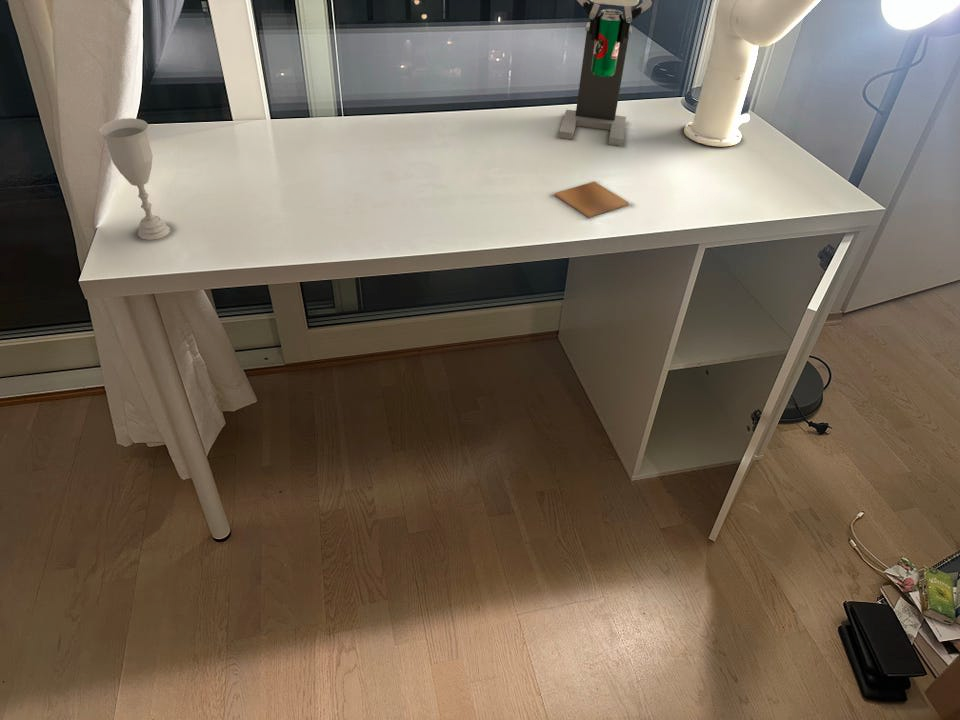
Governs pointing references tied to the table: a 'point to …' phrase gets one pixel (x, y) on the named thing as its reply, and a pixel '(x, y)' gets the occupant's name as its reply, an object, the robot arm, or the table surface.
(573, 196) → the mat
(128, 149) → the chalice
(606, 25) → the soda can
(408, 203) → the table surface
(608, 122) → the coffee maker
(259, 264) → the table surface
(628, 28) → the robot arm
